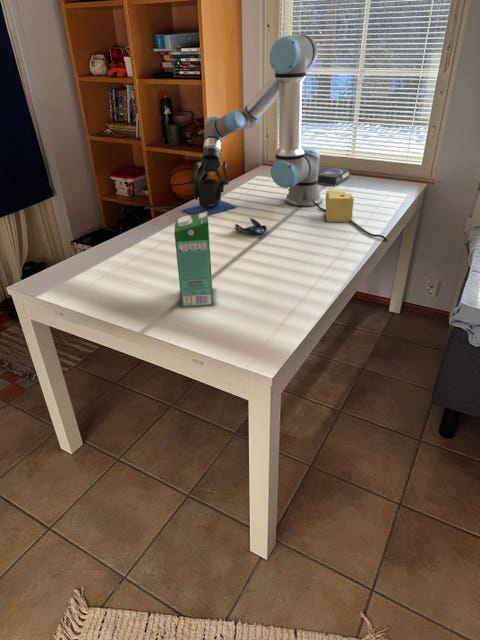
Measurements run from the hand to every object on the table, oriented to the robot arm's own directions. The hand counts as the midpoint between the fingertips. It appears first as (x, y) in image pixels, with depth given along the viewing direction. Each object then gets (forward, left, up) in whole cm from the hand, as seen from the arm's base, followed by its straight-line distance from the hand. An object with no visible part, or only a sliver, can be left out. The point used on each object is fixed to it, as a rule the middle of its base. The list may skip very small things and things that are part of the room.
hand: (207, 198), depth 201 cm
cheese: (-43, -35, -6) cm, 56 cm away
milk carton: (-61, +47, -6) cm, 77 cm away
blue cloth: (+2, -2, -6) cm, 7 cm away
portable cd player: (-1, -74, -6) cm, 74 cm away
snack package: (-32, +2, -6) cm, 32 cm away
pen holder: (+2, -2, -4) cm, 5 cm away
